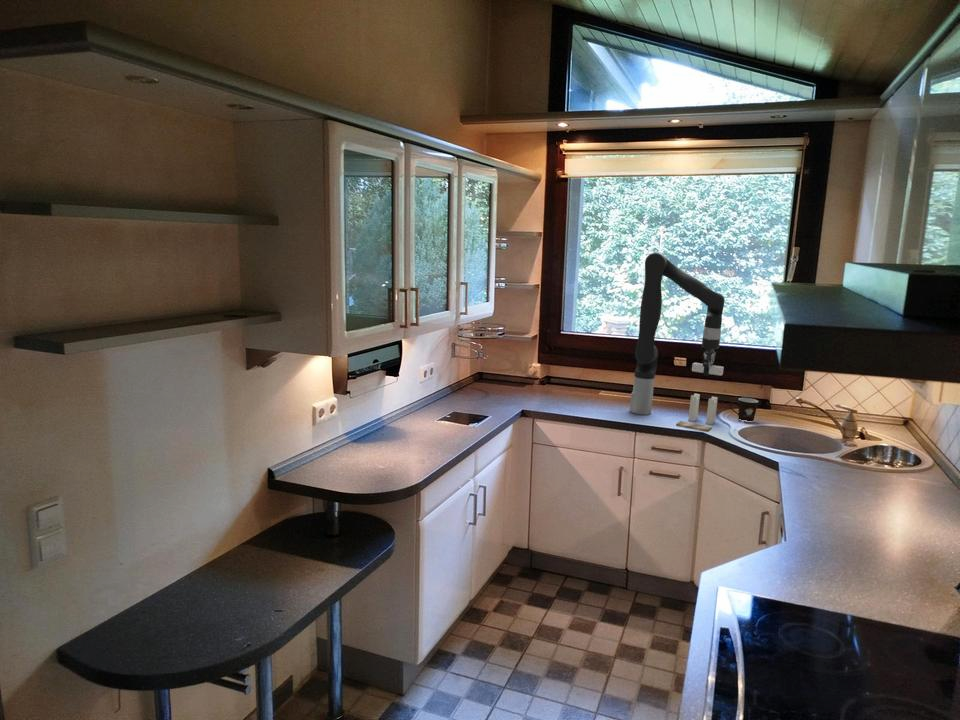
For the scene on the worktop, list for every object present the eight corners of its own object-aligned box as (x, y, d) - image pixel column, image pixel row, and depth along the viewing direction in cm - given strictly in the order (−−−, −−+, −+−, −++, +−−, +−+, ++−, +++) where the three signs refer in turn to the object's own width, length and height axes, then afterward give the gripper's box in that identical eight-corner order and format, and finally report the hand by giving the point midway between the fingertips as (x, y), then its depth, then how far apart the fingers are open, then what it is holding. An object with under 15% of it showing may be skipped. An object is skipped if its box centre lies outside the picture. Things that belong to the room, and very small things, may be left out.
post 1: (688, 420, 305) (690, 395, 303) (691, 417, 310) (694, 393, 308) (693, 421, 304) (696, 396, 302) (697, 418, 309) (700, 394, 307)
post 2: (705, 423, 301) (708, 398, 299) (709, 420, 306) (712, 396, 304) (711, 424, 300) (714, 399, 297) (714, 421, 305) (717, 397, 302)
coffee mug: (757, 420, 310) (759, 400, 308) (753, 424, 302) (756, 403, 300) (731, 416, 315) (733, 395, 314) (727, 420, 308) (730, 399, 306)
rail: (691, 371, 302) (692, 363, 302) (693, 369, 305) (694, 362, 305) (720, 375, 296) (721, 368, 295) (722, 374, 298) (723, 366, 298)
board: (676, 425, 295) (676, 423, 295) (680, 422, 300) (680, 420, 300) (708, 431, 288) (708, 430, 288) (711, 428, 293) (711, 426, 293)
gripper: (707, 334, 305) (702, 371, 308) (698, 338, 293) (694, 375, 297) (723, 336, 301) (719, 373, 304) (716, 340, 289) (711, 378, 293)
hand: (706, 374), depth 301 cm, fingers closed on rail, 3 cm apart
